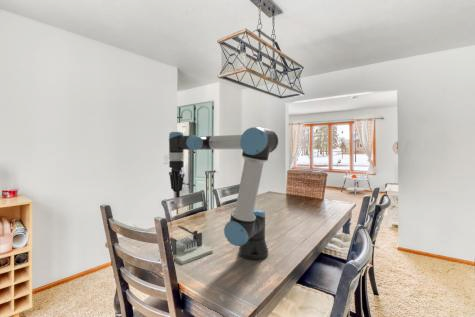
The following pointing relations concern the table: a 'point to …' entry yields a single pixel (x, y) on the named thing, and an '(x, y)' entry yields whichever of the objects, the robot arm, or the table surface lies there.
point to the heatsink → (186, 245)
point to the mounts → (198, 240)
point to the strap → (188, 231)
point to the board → (192, 254)
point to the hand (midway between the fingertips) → (176, 202)
